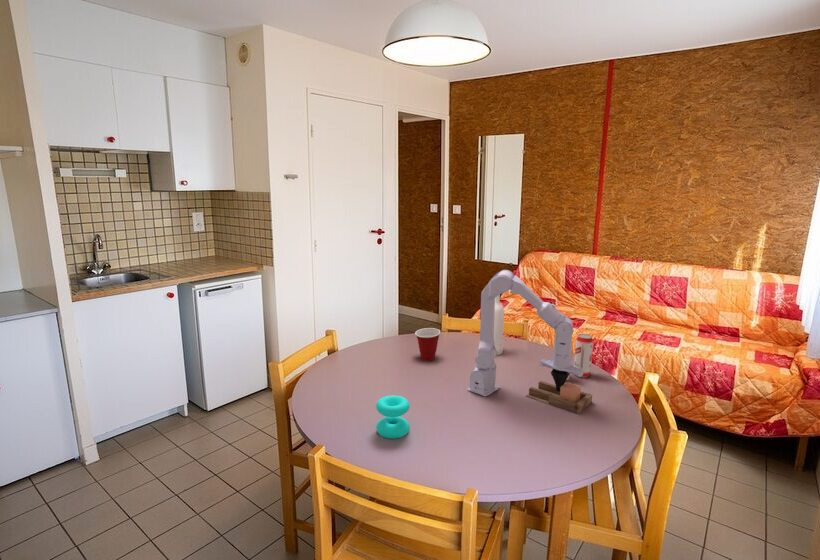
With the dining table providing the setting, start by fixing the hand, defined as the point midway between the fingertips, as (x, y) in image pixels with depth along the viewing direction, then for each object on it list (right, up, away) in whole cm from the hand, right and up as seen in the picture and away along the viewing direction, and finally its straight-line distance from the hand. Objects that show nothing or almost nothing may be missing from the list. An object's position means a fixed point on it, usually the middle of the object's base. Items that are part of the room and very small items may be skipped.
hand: (559, 390), depth 163 cm
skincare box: (+6, 0, +19) cm, 20 cm away
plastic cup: (-44, +5, +39) cm, 59 cm away
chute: (0, -3, +1) cm, 3 cm away
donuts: (-57, -8, -20) cm, 61 cm away
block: (+3, -4, -2) cm, 5 cm away
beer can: (+15, +1, +21) cm, 26 cm away
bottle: (-15, +6, +45) cm, 48 cm away
